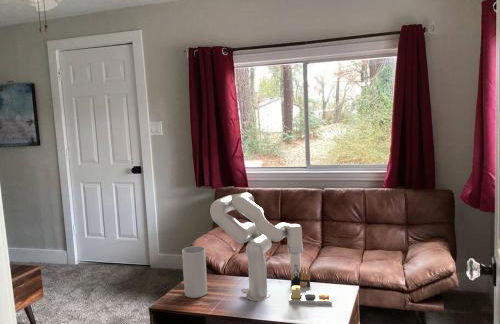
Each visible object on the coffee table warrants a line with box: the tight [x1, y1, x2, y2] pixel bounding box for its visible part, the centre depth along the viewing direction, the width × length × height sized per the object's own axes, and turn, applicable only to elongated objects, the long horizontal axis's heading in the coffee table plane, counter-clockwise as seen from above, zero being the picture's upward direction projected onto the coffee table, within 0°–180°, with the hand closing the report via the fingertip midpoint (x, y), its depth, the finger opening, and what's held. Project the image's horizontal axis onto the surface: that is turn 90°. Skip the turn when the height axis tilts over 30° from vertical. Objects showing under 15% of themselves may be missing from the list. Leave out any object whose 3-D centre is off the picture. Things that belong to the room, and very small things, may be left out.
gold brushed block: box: [291, 285, 302, 299], centre depth 219 cm, size 4×4×7 cm
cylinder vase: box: [181, 245, 208, 299], centre depth 235 cm, size 12×12×25 cm
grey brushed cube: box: [305, 290, 315, 300], centre depth 219 cm, size 4×4×4 cm
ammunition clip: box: [290, 266, 311, 288], centre depth 238 cm, size 11×2×12 cm, turn 80°
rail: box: [288, 293, 332, 306], centre depth 219 cm, size 21×8×3 cm, turn 81°
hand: (297, 281), depth 218 cm, fingers open, 9 cm apart
